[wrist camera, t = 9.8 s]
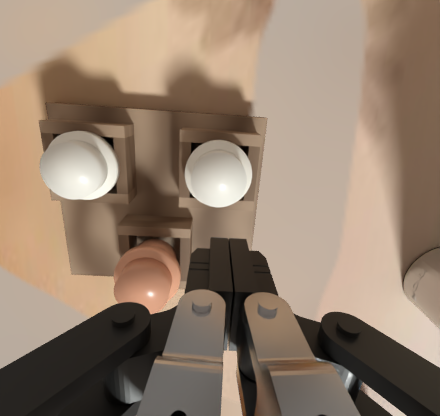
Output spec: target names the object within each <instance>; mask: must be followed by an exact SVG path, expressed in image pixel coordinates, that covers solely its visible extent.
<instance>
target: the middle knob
mask: <svg viewBox="0 0 440 416" xmlns="http://www.w3.org/2000/svg"><path fill="white" fill-rule="evenodd" d="M176 259H177V258H176V253H175V250H174V249H173V247H172V246H171V245H170V244H168V243H167V242H165V241H163V240H160V239H148V240H145V241H143V242H141V243H140V244H139V245H138V246H136V247H134V248H132V249H130V250H128V251H127V252H126V253H125V254H124V255H123V256H122V257H121V259H120V260H119V262H118V263H117V265H116V267H115V270H114V282H115V286H114V295H115V298H116V300H117V302H118V303H123V302H135V303H139V304H142V305H144V306H145V307H146V308H147V309H148V310H149V312H150V314H153V313H156V312H158V311H160V310H161V309H162V308H163V307H164V306H165V305H166V303H167V301H168V300H170V299H171V298H172V297H173V296H174V295H175V294H176V292H177V290H178V288H179V284H180V279H181V269H180V266H179V263H178V261H177V260H176Z"/></svg>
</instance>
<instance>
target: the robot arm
mask: <svg viewBox="0 0 440 416" xmlns="http://www.w3.org/2000/svg"><path fill="white" fill-rule="evenodd" d="M404 291H405V294H406V296H407V297H408V299H409V300H410V301H411V302H412V303H413V304H414V305H415V306H416V307H417V308H418V309H419V310H421V311H422V312H423V313H424V314H425V315H426V316H427V317H428V318H429V319H430V321H432V322H433V323H434V324H435V325H436V326H437V327H438V328H439V329H440V248H437V249H433V250H431V251H429V252H427V253H425V254H424V255H422V256H421V257H419V258H418V259H417V260H416V261H415V262H414V263H413V264H412V265H411V267H410V268H409V269H408V271H407V273H406V275H405V278H404ZM227 344H229V350H230V351H237V368H236V377H237V384H238V390H239V396H240V403H241V409H242V415H243V416H392V415H391V414H390V413H389V412H387V411H386V410H385V409H384V408H382V407H381V406H380V405H379V404H377V403H376V402H375V401H374V400H372V399H371V398H370V397H368V396H367V395H366V394H365V393H363V392H362V391H361V390H360V388H361V385H362V382H364V383H365V384H366V385H368V386H369V387H370V388H372V389H373V390H374V391H375V392H377V393H378V394H379V395H381V396H382V397H383V398H385V399H386V400H387V401H388V402H390V403H391V404H392V405H394V406H395V407H396V408H398V409H399V410H400V411H401V412H403V413H404V414H405V415H407V416H440V368H439V367H437V366H436V365H434V364H432V363H431V362H429V361H427V360H426V359H424V358H422V357H421V356H419V355H418V354H416V353H414V352H413V351H411V350H409V349H408V348H406V347H404V346H403V345H401V344H399V343H398V342H396V341H395V340H393V339H391V338H390V337H388V336H386V335H385V334H383V333H381V332H380V331H378V330H376V329H375V328H373V327H371V326H370V325H368V324H367V323H365V322H363V321H362V320H360V319H358V318H356V317H354V316H352V315H350V314H347V313H342V312H330V313H327V314H325V315H324V316H323V318H322V320H321V323H320V322H317V321H313V320H309V319H306V318H303V317H300V316H298V315H295V314H294V313H293V312H292V310H291V308H290V306H289V304H288V303H287V302H286V301H285V300H284V299H282V298H280V297H279V296H278V293H277V290H276V287H275V284H274V281H273V278H272V275H271V274H270V269H269V267H268V263H267V260H266V258H265V257H264V256H263V255H262V254H261V253H260V252H259V251H249V248H248V243H247V239H240V238H229V240H228V238H220V237H211V238H210V249H208V248H197V249H196V250H195V251H194V252H193V253H192V254H191V257H190V263H189V270H188V275H187V282H186V288H185V294H184V295H183V296H182V297H181V298H180V300H179V302H178V305H177V306H175V307H174V308H172V309H170V310H167V311H164V312H159V313H155V314H150V312H149V310H148V309H147V308H146V307H145V306H144V305H142V304H139V303H135V302H123V303H119V304H116V305H113V306H111V307H109V308H107V309H105V310H103V311H102V312H100V313H98V314H96V315H95V316H93V317H91V318H89V319H88V320H86V321H84V322H82V323H81V324H79V325H77V326H75V327H74V328H72V329H70V330H68V331H67V332H65V333H63V334H61V335H60V336H58V337H56V338H54V339H52V340H51V341H49V342H47V343H45V344H44V345H42V346H40V347H38V348H37V349H35V350H33V351H32V352H30V353H28V354H26V355H25V356H23V357H21V358H19V359H17V360H16V361H14V362H12V363H10V364H9V365H7V366H5V367H3V368H1V369H0V416H220V415H221V397H222V378H223V352H224V350H227Z"/></svg>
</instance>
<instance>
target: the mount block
mask: <svg viewBox="0 0 440 416" xmlns="http://www.w3.org/2000/svg"><path fill="white" fill-rule="evenodd" d="M46 107H47V114H48V120H39V126H40V132H41V138H42V144H43V151H44V152H45V151H46V150H47V149H48V147H49V145H50V143H51V142H52V141H53V140H54V139H55V138H56V137H57V136H59V135H61V134H63V133H67V132H72V131H88V132H92V133H94V134H97V135H99V136H100V137H102V138H104V139H106V140H108V141H109V142H111V143H112V144H113V145H114V151H115V153H116V155H117V157H118V160H119V165H120V173H119V177H118V180H117V182H116V184H115V186H114V187H113V188H112V189H111V190H110V191H108V192H107V193H106V194H105V195H103V196H101V197H99V198H96V199H91V200H82V199H77V200H72V199H67V198H63V197H61V196H59V195H57V194H56V193H54V192H53V191H52V190H51V189H50V194H51V200H56V201H61V208H62V214H63V221H64V228H65V234H66V241H67V248H68V254H69V261H70V268H71V274H72V275H94V276H114V270H115V267H116V265H117V263H118V262H119V260H120V259H121V257H122V256H123V255H124V254H125V253H126V252H127V251H128V250H130V249H132V248H134V247H136V246H138V245H139V244H140V243H141V242H143V241H145V240H148V239H160V240H163V241H165V242H167V243H168V244H170V245H171V246H172V247H173V249H174V250H175V253H176V258H177V259H176V260H177V261H178V263H179V266H180V269H181V279H180V284H179V288H178V289H185V288H186V282H187V275H188V270H189V263H190V257H191V254H192V253H193V252H194V251H195V250H196V249H197V248H208V249H210V238H211V237H220V238H228V240H229V238H240V239H247V243H248V248H249V251H251V249H252V241H253V233H254V225H255V216H256V208H257V200H258V192H259V182H260V175H261V167H262V159H263V150H264V142H265V134H266V126H267V118H264V117H249V116H235V115H220V114H206V113H192V112H177V111H163V110H148V109H134V108H120V107H105V106H91V105H76V104H62V103H46ZM211 140H226V141H229V142H232V143H234V144H236V145H237V146H238V147H240V148H241V149H242V150H243V151H244V153H245V154H246V156H247V157H248V159H249V161H250V164H251V168H252V180H251V184H250V187H249V189H248V191H247V192H246V194H245V195H244V196H243V197H242V198H241V199H240V200H238V201H237V202H235V203H233V204H231V205H229V206H226V207H211V206H208V205H206V204H203V203H201V202H200V201H198V200H197V199H196V198H195V197H194V196H193V195H192V194H191V192H190V191H189V189H188V187H187V184H186V181H185V167H186V164H187V161H188V159H189V157H190V155H191V154H192V152H193V151H194V150H195V149H196V148H197V147H198V146H200V145H201V144H203V143H205V142H207V141H211Z"/></svg>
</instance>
